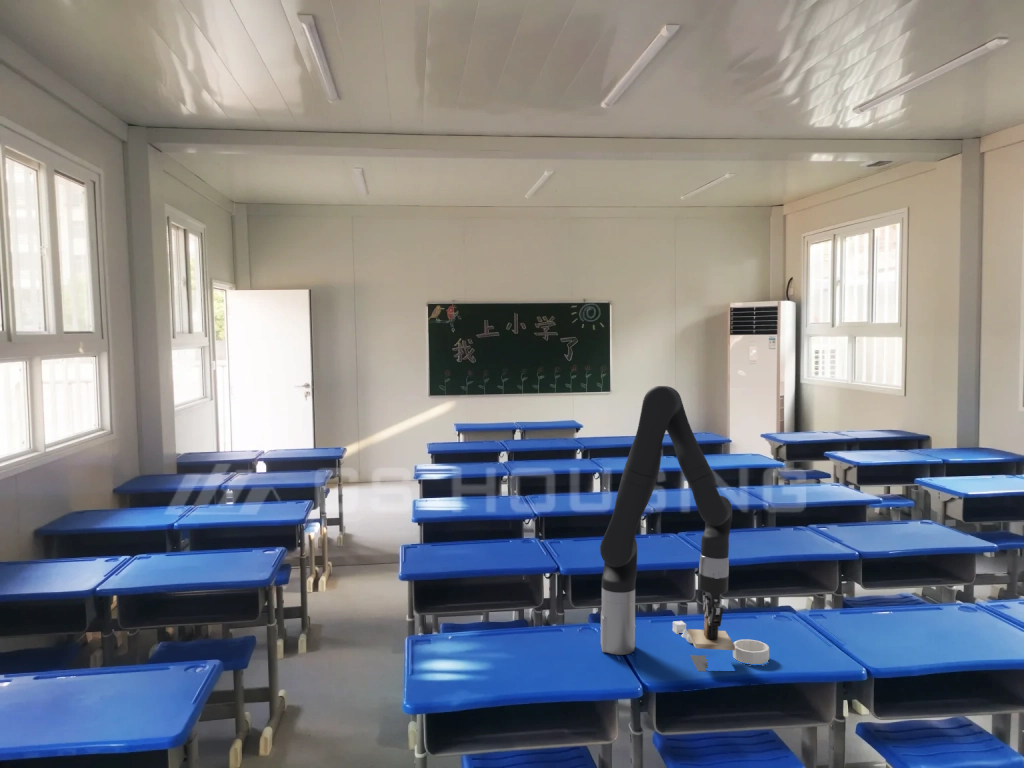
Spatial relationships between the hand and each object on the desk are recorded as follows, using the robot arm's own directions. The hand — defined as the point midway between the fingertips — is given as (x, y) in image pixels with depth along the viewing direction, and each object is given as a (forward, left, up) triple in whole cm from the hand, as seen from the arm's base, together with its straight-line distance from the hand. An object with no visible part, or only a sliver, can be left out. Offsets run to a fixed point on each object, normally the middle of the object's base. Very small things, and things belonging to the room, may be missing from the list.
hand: (710, 636), depth 189 cm
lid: (0, 0, -1) cm, 1 cm away
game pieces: (-3, +19, -8) cm, 21 cm away
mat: (+1, 0, -8) cm, 8 cm away
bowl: (+12, +4, -8) cm, 14 cm away
